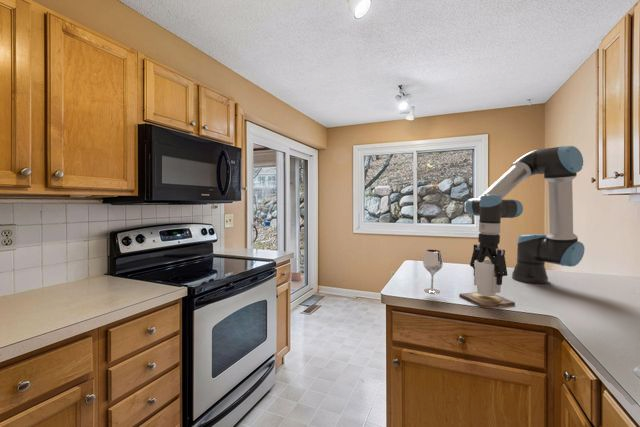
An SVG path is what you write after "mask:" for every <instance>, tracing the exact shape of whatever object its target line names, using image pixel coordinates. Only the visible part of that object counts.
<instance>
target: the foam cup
mask: <svg viewBox="0 0 640 427" xmlns="http://www.w3.org/2000/svg"><path fill="white" fill-rule="evenodd" d="M473 264H474V267H475V273H476V283H477V285H476V292H478V294H481V295H484V296H495V295H496V293H493V286H494V276H495V275H496V274H495V271H494V264H492V263H491V260H490V259H486V258H485V259H484V261H483V262H481V263H480V262H478V260H475V262H474V263H473ZM497 265H498V264H497Z"/></svg>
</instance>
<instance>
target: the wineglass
mask: <svg viewBox="0 0 640 427" xmlns="http://www.w3.org/2000/svg"><path fill="white" fill-rule="evenodd" d="M442 256H443V255H442V253H441V250H438V249H426V250H425V254H424V257H423V261H422V265H423V267H424V268H425V270H426V271H427V272H429V274H430V275H431V278H430V280H431V282H430V285H431V286H430V288H425V289H424V292H425V293H429V294H439V293H441V292H440V290H439V289H436V288H434V275H435V274H437V272H439V271H440V270H441V269H442V268H443V265H444V264H443V263H444V262H443V258H442Z"/></svg>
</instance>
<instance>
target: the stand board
mask: <svg viewBox="0 0 640 427" xmlns="http://www.w3.org/2000/svg"><path fill="white" fill-rule="evenodd" d="M459 297H460V298H461V297H462V299H464V300H466V301H468V302H470V303H472V302H473V303H472V304H474V303H475V305H476V304H477V306H479V307H481V308H482V309H493V308H492V307H494V308H500V307H499V306H504V307H511V306H510V305H514V306H515V305H516V302H515V301H513V300H511V299H510V300H509V299H507V298H505V297H502V296H500V295H497V294H495V296H484V295H481V294H478V291H475V292H465V293H462V292H461V293H459Z"/></svg>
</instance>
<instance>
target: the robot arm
mask: <svg viewBox="0 0 640 427" xmlns="http://www.w3.org/2000/svg"><path fill="white" fill-rule="evenodd" d="M583 166H584V157H583V155H582V152H581V150H580V149H579V148H578V147H576V146H573V145H565V146H563V145H562V146H557V147H556V146H555V147H547V148H539V149H535V150H532V151H529V152H527V153H526V154H523V155H522V156H521V157H519V158H517V160H515V161H514V162H513V163H512V164H511V165H510V167H509V169H508V170H507V171H506V172H504V174H503V175H502V176H500V178H498V179H497V180H496V181H495V182H494V183H492V184H491V185H490V186H489V187H488V188H487V189H486V190H485V191H483V192H482V194H480V195H479V196H477V197H476V198H475V197H473V198H469V199H467V201H466V202H465V204H464V208H465V211H466V213H467V214H468V215H471V216H475V217H478V216H479V220H478V222H479V223H478V232H479V234H478V236H477V238H478V240H477V241H478V243H479V244H478V243H477V244H473V250H472V254H471V255H472V256H471V259H470V262H469V266H470V268H473V277H474V278H473V285H474V286H477V283H476V273H475V267H474V262H475V260H478V262H480V263H481V262H483V261H484V259H485V260H486V258H488V260H491V263H492V264H494V271H495V274H496V275H495V276H494V286H493V293H495V294H499V293H501V287H502V285H503V277H506V276H508V270H507V263H506V262H507V261H506V257H505V255H506V250H505V249H500V248H499V244H500V241H501V235H500V233H501V222H502V221H501V220H502V219H507V218H508V219H513V218H518V217H520V216H521V215H522V213H523V212H524V206H523V204H522V202H521V201H520V200H517V199H512V198H511V199H504V198H505V197H506V196H508V194H509V193H510V192H512V191H513V190H514V189H515V187H517V186H518V185H519V184H520V183H521V182H522V181H524V180H528V179H529V178H530V177H532V176H535V175H543V179H545V181H547V182H548V184H547V185H548V186H547V187H548V216H549V217H548V218H549V220H548V221H549V224H548V225H549V232H548V233H547V234H545V233H544V234H543V233H542V234H540V233H539V234H534V233H533V234H521V235H519V236H518V239H517V242H516V243H517V251H516V255H517V256H516V265H515V267H514V269H513V271H512V273H511V277H512V279H514V280H515V281H519V282H522V283H529V284H543V285H544V284H547V283H548V282H549V277H548V274H547V270H546V266H545V264H546V263H548V264H549V263H550V264H553V265H559V266H562V267H576V266H577V265H579V264H580V262H581V261H582V260H583V258H584V255H585V245H584V243H583V242H581V241H579V238H578V235H577V234H575V233H574V207H573V206H574V205H573V204H574V203H573V202H574V201H573V200H574V198H573V196H574V195H573V194H574V193H573V180H574V179H575V178H576V177H577V173H579V172H581V170H583ZM497 264H498V265H497Z"/></svg>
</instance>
